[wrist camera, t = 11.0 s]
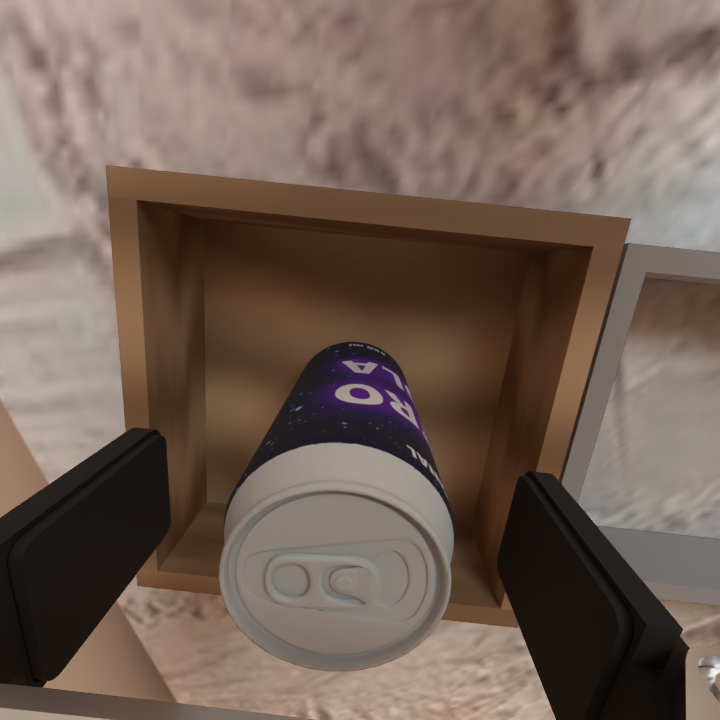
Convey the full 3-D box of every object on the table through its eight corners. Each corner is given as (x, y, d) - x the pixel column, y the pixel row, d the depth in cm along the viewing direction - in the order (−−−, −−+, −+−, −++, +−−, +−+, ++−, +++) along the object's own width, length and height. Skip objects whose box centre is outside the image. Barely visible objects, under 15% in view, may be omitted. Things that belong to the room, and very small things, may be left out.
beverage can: (402, 438, 20) (455, 690, 8) (301, 434, 20) (209, 679, 8) (409, 339, 18) (488, 474, 6) (300, 335, 18) (185, 462, 7)
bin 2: (572, 249, 18) (628, 243, 14) (908, 283, 18) (1059, 287, 14) (504, 529, 22) (532, 585, 18) (774, 559, 22) (861, 621, 18)
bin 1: (192, 199, 18) (105, 165, 12) (545, 236, 18) (631, 218, 12) (198, 503, 22) (137, 585, 16) (479, 534, 22) (517, 627, 16)
